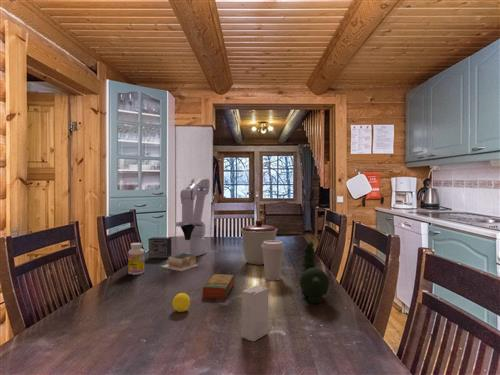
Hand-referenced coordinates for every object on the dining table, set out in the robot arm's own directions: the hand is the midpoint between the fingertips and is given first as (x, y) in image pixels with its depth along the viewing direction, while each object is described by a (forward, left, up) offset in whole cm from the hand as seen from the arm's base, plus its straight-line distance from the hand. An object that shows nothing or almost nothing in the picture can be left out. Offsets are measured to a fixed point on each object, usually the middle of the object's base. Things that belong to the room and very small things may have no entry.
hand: (187, 239), depth 168 cm
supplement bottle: (+29, -2, -11) cm, 31 cm away
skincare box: (+51, +73, -11) cm, 90 cm away
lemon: (+49, +45, -11) cm, 67 cm away
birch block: (+4, +6, -8) cm, 11 cm away
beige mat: (+11, +6, -10) cm, 16 cm away
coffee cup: (+4, +52, -11) cm, 53 cm away
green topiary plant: (+15, +73, -11) cm, 76 cm away
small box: (+3, -16, -11) cm, 20 cm away
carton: (+28, +43, -11) cm, 52 cm away
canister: (-16, +33, -11) cm, 38 cm away
